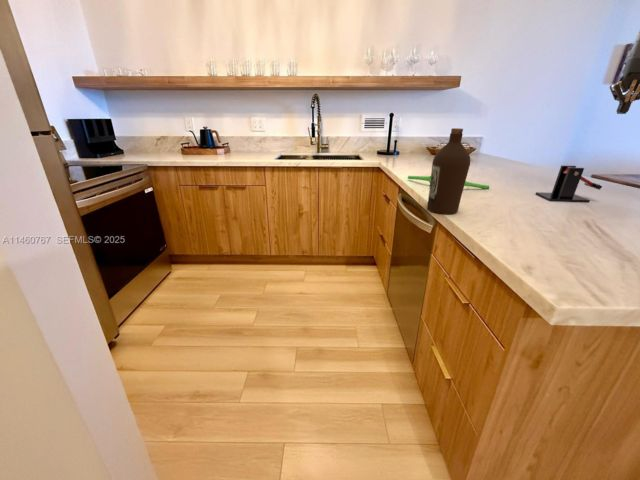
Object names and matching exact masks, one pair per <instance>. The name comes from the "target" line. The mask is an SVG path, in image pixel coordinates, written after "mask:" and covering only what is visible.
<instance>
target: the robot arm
mask: <svg viewBox="0 0 640 480" xmlns="http://www.w3.org/2000/svg"><path fill="white" fill-rule="evenodd" d="M633 43H634V44H633V45H632V48H631V49H630V51H629V53H628V57H627V60H626V63H625V65H624V67H623V70H622V76H621V77H620V78H619V80H618V81H617V82H616V83H615V84H610V85H609V89H610V92H611V94H612V97H613V100H614V101H617V102H618V106H617V108H616V114H617V115H626V114H627V113H628V112H629V110H630V108H631V106H632V104H633V102H635V101H639V100H640V29H639V30H638V33H637V35H636V38H635V41H634V42H633Z"/></svg>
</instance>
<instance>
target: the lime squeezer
mask: <svg viewBox="0 0 640 480" xmlns="http://www.w3.org/2000/svg"><path fill="white" fill-rule="evenodd" d="M407 180H414V181H415V180H418V181H423V182H424V181H425V182H428V183H429V184H430V181H431V175H429V176H428V175H425V176H424V175H408V176H407ZM464 187H470V188H477V189H483V190H489V189H490V185H489V184H488V185H487V184H481V183H474V182H470V181H467V180H466V181H465V185H464Z"/></svg>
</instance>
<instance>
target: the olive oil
mask: <svg viewBox="0 0 640 480" xmlns="http://www.w3.org/2000/svg"><path fill="white" fill-rule="evenodd" d="M463 132H464V128H458V127H457V128H455V127H454V128H451V132H450V133H449V140H448V142H447V143H446V144H445V145H444V146H443V147H441V148H440V149H439V150H438V151H437V152H436V153H435V154H434V157H433V159H432V163H431V173H430V176H431V181H430V183H429V189H428V198H427V205H426V206H427V207H426V208H427V210H428V211H429V212H432V213H435V214H439V215H455V214H457V213H458V212H459V207H460V204H461V199H462V196H463V192H464V189H465V186H464V185H465V181H467V177H468V174H469V170H470V167H471V156H470V153H469V152H468V150H467V149H466V147H465V146H464V145H463V143H462V139H463V135H464V134H463Z"/></svg>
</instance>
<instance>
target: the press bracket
mask: <svg viewBox="0 0 640 480" xmlns="http://www.w3.org/2000/svg"><path fill="white" fill-rule="evenodd" d="M567 167H569V168H568V171H567V173H566V174H565V173H563V172H564V171H565V169H566V168H567ZM570 167H572V168H570ZM584 170H585V168H584V167H577V166H576V165H560V168H559V170H558V173H557V176H556V180H555V182H554V185H553V188H552V191H551V192H542V191H541V192H538V191H537V192H535V194H534V195H535V196H537V197H539V198H541V199H544V200H545V201H547V202H552V203H553V202H557V203H586V204H587V203H588V204H590V202H591V200H590V199H588V198H586V197H583V196H581V195H577V194H576V191H577V188H578V186H579V183H580V182H581V180H580V178H581V176H582V177H583V173H584Z"/></svg>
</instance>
